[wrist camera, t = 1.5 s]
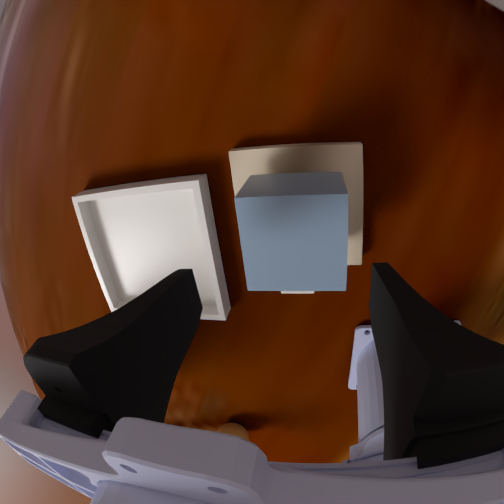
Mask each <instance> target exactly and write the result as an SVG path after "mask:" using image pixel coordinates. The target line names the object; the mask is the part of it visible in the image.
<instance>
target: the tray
mask: <svg viewBox="0 0 504 504" xmlns="http://www.w3.org/2000/svg"><path fill="white" fill-rule="evenodd" d="M72 201H73V204H74V208H75V211H76V214H77V218H78V221H79V224H80V228H81V231H82V234H83V237H84V240H85V243H86V246H87V249H88V252H89V255H90V258H91V260H92V263H93V266H94V269H95V271H96V274H97V277H98V279H99V282H100V285H101V287H102V290H103V292H104V295H105V297H106V300H107V302H108V305H109V307H110V310H111V312H113V311H115V310H117V309H118V308H120V307H122V306H124V305H125V304H127V303H128V302H130V301H131V300H133V299H134V298H136V297H138V296H139V295H141V294H142V293H144V292H145V291H147V290H148V289H149V288H151V287H152V286H154V285H155V284H157V283H158V282H159V281H161V280H162V279H164V278H165V277H167V276H168V275H170V274H171V273H173V272H174V271H176V270H178V269H192V270H193V274H194V277H195V281H196V285H197V288H198V292H199V296H200V299H201V303H202V306H203V309H202V313H201V317H200V319H206V320H226V319H227V316H228V314H229V311H230V309H231V306H230V301H229V296H228V291H227V286H226V280H225V275H224V270H223V265H222V259H221V254H220V248H219V243H218V237H217V232H216V226H215V220H214V215H213V209H212V203H211V197H210V191H209V185H208V179H207V174H199V175H189V176H180V177H172V178H164V179H156V180H148V181H141V182H134V183H127V184H120V185H114V186H107V187H101V188H95V189H90V190H84V191H82V192H80V193H78V194H76V195H75V196H73V197H72Z"/></svg>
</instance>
